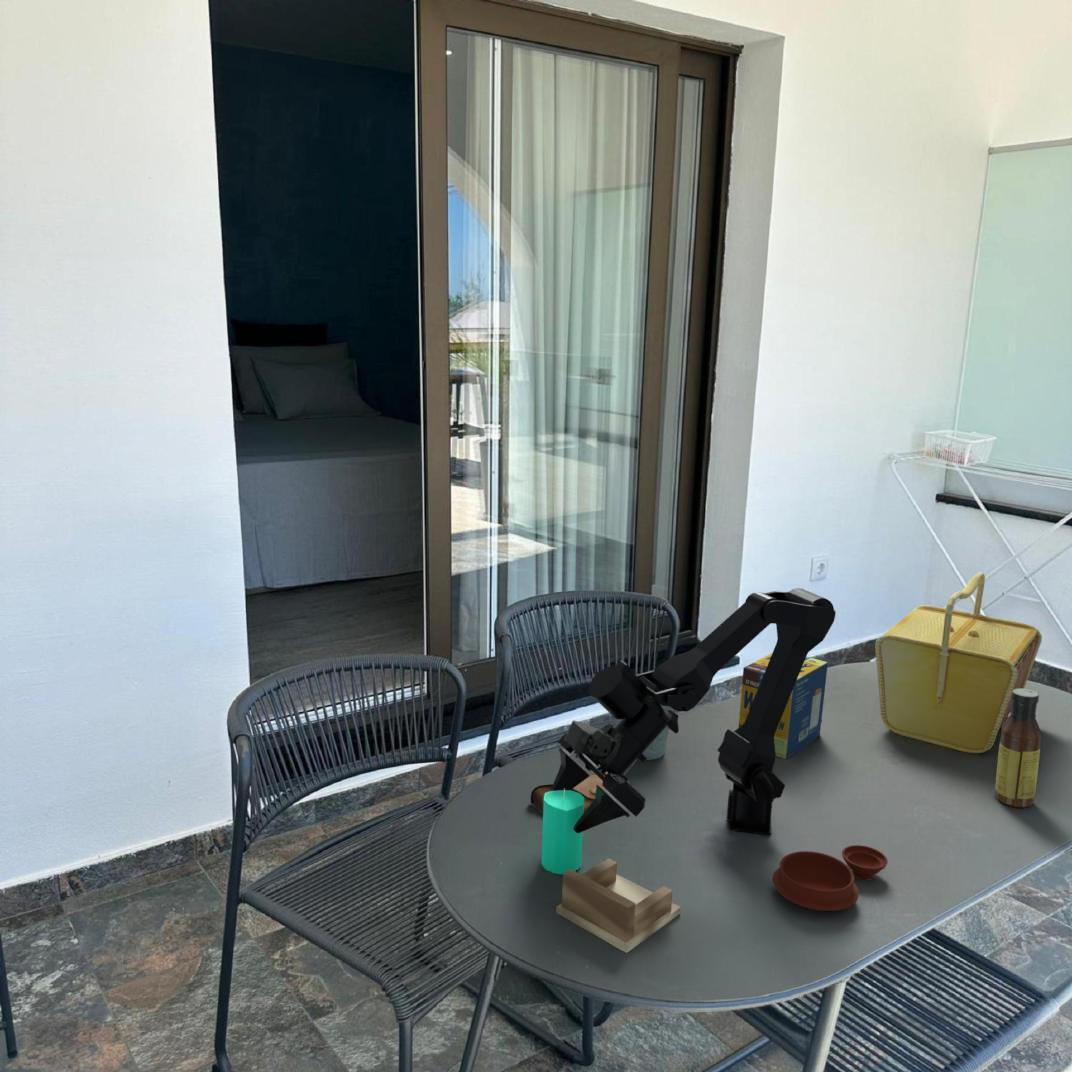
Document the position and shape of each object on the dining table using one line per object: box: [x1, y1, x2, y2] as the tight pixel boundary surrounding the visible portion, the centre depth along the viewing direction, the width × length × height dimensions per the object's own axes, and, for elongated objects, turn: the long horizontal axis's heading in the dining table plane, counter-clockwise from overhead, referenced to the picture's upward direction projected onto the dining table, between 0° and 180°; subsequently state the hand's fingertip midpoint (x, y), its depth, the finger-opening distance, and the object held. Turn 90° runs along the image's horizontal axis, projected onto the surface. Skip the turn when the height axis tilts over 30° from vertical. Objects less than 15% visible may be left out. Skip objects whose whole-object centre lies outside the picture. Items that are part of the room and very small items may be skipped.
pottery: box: [772, 844, 888, 912], centre depth 139 cm, size 12×20×4 cm, turn 125°
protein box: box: [737, 652, 829, 760], centre depth 187 cm, size 10×15×16 cm
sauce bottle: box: [994, 688, 1042, 808], centre depth 165 cm, size 6×6×20 cm
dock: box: [555, 858, 682, 954], centre depth 131 cm, size 12×12×6 cm
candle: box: [540, 789, 584, 875], centre depth 142 cm, size 6×6×12 cm
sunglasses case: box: [530, 771, 630, 814], centre depth 162 cm, size 18×7×7 cm
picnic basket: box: [874, 571, 1043, 754], centre depth 195 cm, size 29×26×30 cm
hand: (561, 815), depth 142 cm, fingers open, 9 cm apart
